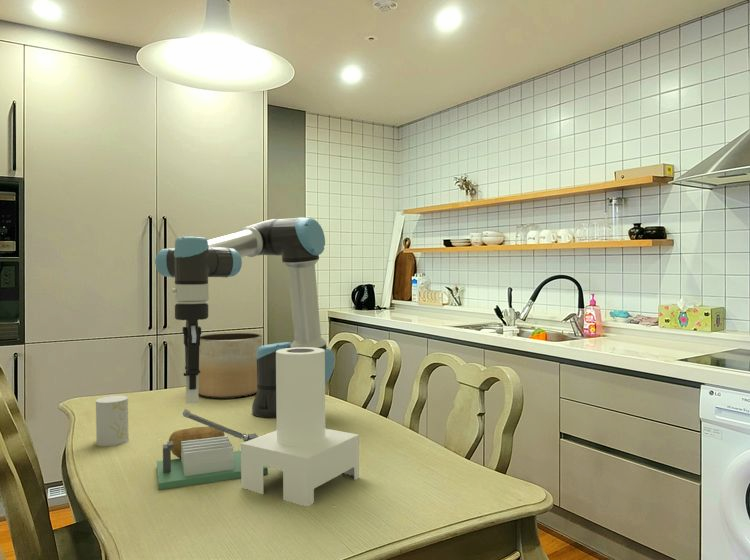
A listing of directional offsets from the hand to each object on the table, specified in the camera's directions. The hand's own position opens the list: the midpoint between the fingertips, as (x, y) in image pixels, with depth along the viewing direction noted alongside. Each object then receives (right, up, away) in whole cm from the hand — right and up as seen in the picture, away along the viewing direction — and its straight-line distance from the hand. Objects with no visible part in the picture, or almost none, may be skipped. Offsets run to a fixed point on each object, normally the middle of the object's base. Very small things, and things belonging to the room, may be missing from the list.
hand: (192, 402), depth 131 cm
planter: (-14, -15, +87) cm, 89 cm away
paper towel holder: (+27, -17, -6) cm, 32 cm away
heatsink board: (+4, -17, +2) cm, 17 cm away
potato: (-2, -17, +11) cm, 20 cm away
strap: (+5, -7, +2) cm, 9 cm away
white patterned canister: (-31, -17, +25) cm, 43 cm away
